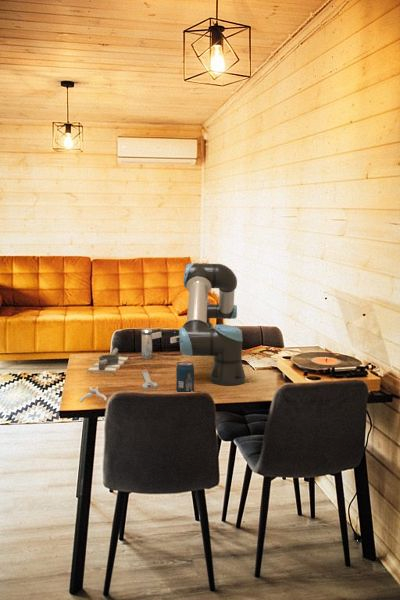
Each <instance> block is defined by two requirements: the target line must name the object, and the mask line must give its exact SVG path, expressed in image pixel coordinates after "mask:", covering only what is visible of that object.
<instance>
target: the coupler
mask: <svg viewBox="0 0 400 600" xmlns="http://www.w3.org/2000/svg"><path fill="white" fill-rule="evenodd" d="M140 332H141V334H140V335H141V359H144V360H150V358H151V359H153V339H152V333H153V328H149V327H148V328H142V329H141V331H140Z"/></svg>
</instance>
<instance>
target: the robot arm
mask: <svg viewBox="0 0 400 600" xmlns="http://www.w3.org/2000/svg"><path fill="white" fill-rule="evenodd" d="M183 286H184V288H186V289H187V291H188V301H187V302H188V304H187V312H186V313H187V315H186V321H185V323H184V324H183V325H182V327H179V329H175V328H174V329H165V330H164V329H163V330H157V332H152V340H155V339H161V338H162V337H170V342H169V343H170V344H174V343H178V342H179V349H180V354H181V355H183V356H188V357H194V356H195V357H213V365H212V367H211V370H210V373H209V381H210V382H211V383H212V384H215V385H219V386H238V385H241V384H244V383H245V382H246V373H245V369H244V367H243V366H244V365H243V362H242V361H243V357H242V356H243V341H244V340H243V331H242V329H240V328H238V327H237V326H235V325H230V324H229V325H228V324H223V323H222V324H220V323H219V324H215V325H213V323H212V322H211V321H210V319H218V320H219V319H220V320H221V319H223V320H225V319H227V320H231V319H237V317H238V316H237V315H238V314H237V313H238V308H237V307H238V306H237V305H236V304H235V290H236V288H237V286H238V279H237V276H236V274H235V273H234V271H233V270H232V269H231V268H229V267H228V266H226V265H225V264H221V263H203V262H202V263H199V262H194V263H188V264H186V266H185V269H184V274H183ZM212 289H218V292H219V293H218V294H219V295H218V303H217V304H214V303H213V304H212V303H210V300H208V299H209V298H208V296H209V295H208V294H209V293H210V292H211V290H212Z"/></svg>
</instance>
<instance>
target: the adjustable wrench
mask: <svg viewBox="0 0 400 600" xmlns="http://www.w3.org/2000/svg"><path fill="white" fill-rule="evenodd" d="M141 376H142V378H143V381H144V383H143V384H142V385H141V389H142V390H143V391H149V390H150V388H152V389H154V390H157V389H158V387H159V384H158V383H157V382H155V381H154V382H153V381H152V380H151V378H150V374H149V371H148V370H142V371H141Z"/></svg>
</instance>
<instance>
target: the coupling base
mask: <svg viewBox="0 0 400 600" xmlns="http://www.w3.org/2000/svg"><path fill="white" fill-rule="evenodd" d="M118 351H119V349H118V347H115V348H114V349H113V350H112V352H111V353H110V354H104V355H100V356H99V359H98V360H97V362H95V363H94V364H92V365H91V366H90V367H89V368H88V369H87V371H86V372H87V373H91V372H93V373H94V374H112V375H113V374H115V373H117V371H119V369H120V368H121V367H122V366H123V365H125V363H126V362H128V360H129V359H130V358H129V356H119V352H118ZM93 373H92V374H93Z"/></svg>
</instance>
